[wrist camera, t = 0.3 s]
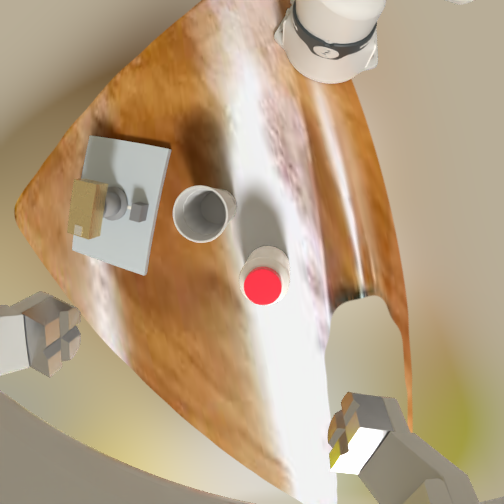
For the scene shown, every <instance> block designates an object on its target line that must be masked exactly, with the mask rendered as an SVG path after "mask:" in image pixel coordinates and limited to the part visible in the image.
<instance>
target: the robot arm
mask: <svg viewBox="0 0 504 504" xmlns="http://www.w3.org/2000/svg"><path fill="white" fill-rule="evenodd" d="M446 1H449V2H452V3H455V4H465V3H469V2H471V1H474V0H446ZM290 3H291V4H292V5H291V7H290V8H288V9H287V11H286V15H285V17H284V19H283V20H282V22H281V24H280V25H279V27H278V29H277V30H276V32H275V34H274V40H275V41H276V43H277V44H279V45H280V46H281V47H282V48H283V49H284V50H285V52H286V54H287V56H288V59H289V61H290V62H291V64H292V65H293V66H294V68H295V69H296V70H297V71H299V72H300V73H301V74H302V75H304V76H306V77H307V78H309V79H312V80H314V81H317V82H321V83H329V84H334V83H341V82H345V81H347V80H350V79H352V78H353V77H355V76H356V75H357V74H359V73H360V72H362V71H364V70H369V69H373V68H375V67H376V66H377V64H378V50H377V33H376V26H377V20H378V18H379V16H380V14H381V13H382V11H383V9H384V7H385V4H386V0H291V1H290ZM282 31H283V33H282ZM372 56H373V58H372ZM80 321H81V320H80V311H79V309H78V308H76V307H74V306H72V305H70V304H68V303H66V302H64V301H62V300H60V299H58V298H56V297H54V296H52V295H50V294H47V293H46V292H42V291H39V292H37V293H35V294H33V295H31V296H29V297H27V298H25V299H23V300H22V301H20V302H18V303H16V304H14V305H12V306H10V307H9V306H8V305H0V375H4V374H8V373H11V372H15V371H18V370H22V369H26V368H29V366H30V367H32V368H34V369H35V370H37V371H39V372H41V373H42V374H44V375H46V376H48V377H51V376H52V375H53V374H55V373H56V372H57V371H58V370H59V369H60V368H62V361H67V360H71V359H72V358H73V357H74V356H75V354H76V353H77V351H78V349H79V346H80V341H81V336H80V335H81V334H80V332H79V330H78V328H77V325H78V324H79V323H80ZM341 406H342V410H340V411H339V412H337V413H335V415H334V417H333V418H332V420H331V423H330V426H329V430H328V443H329V444H330V446H331V447H332V448H333V449H332V450H331V452H330V453H329V458H330V468H331V471H337V472H345V473H354V474H358V476H359V478H360V479H361V480H362V482H363V483H364V484H365V485H366V487H367V488H368V489H369V491H370V492H371V494H372V495H373V496H374V498H375V499H376V500H377V501H378V502H379V504H504V497H500V498H497V499H492V500H488V501H484V502H479V501H478V498H477V496H476V494H475V491H474V489H473V487H472V484H471V482H470V480H469V478H468V475H467V474H465V473H464V472H463V471H461V470H460V469H459V468H458V467H456V466H455V465H454V464H453V463H451V462H450V461H449V460H447V459H446V458H445V457H444V456H442V455H441V454H440V453H439V452H437V451H436V450H435V449H433V448H432V447H431V446H430V445H429V444H427V443H426V442H425V441H423V440H422V439H421V438H420V437H419V436H417V435H416V434H415V433H410V431H409V428H408V426H407V423H406V421H405V419H404V416H403V413H402V411H401V409H400V406H399V404H398V401H397V400H396V399H395V398H390V397H380V396H379V397H378V396H371V395H364V394H358V393H351V392H348V393H347V394H346V395H345V396H344V398H343V400H342V402H341ZM0 504H255V503H249V502H245V501H240V500H236V499H231V498H227V497H223V496H219V495H215V494H212V493H208V492H204V491H200V490H197V489H194V488H191V487H187V486H184V485H181V484H178V483H175V482H172V481H169V480H166V479H164V478H161V477H158V476H155V475H153V474H150V473H148V472H145V471H142V470H140V469H138V468H135V467H132V466H130V465H128V464H126V463H123V462H121V461H119V460H117V459H114V458H112V457H110V456H108V455H106V454H104V453H101V452H100V451H98V450H96V449H94V448H92V447H90V446H88V445H86V444H84V443H82V442H80V441H78V440H76V439H75V438H73V437H71V436H69V435H67V434H66V433H64V432H62V431H61V430H59V429H57V428H55V427H54V426H52V425H50V424H49V423H47V422H46V421H44V420H42V419H41V418H39V417H38V416H36V415H35V414H33V413H32V412H30V411H29V410H27V409H26V408H24V407H23V406H21V405H20V404H19V403H17V402H16V401H14V400H13V399H12V398H10V397H9V396H7V395H6V394H5V393H3V392H2V391H1V390H0Z"/></svg>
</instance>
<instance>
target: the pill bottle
mask: <svg viewBox="0 0 504 504" xmlns="http://www.w3.org/2000/svg"><path fill="white" fill-rule="evenodd" d="M289 283H290V263H289V260H288V258H287V256H286V255H285V253H284V252H283V251H281V250H280V249H278V248H276V247H273V246H262V247H259V248H257V249H255V250H254V251H253V252H252V253H251V254H250V255H249V257H248V259H247V261H246V263H245V264H244V266H243V268H242V270H241V272H240V276H239V286H240V289H241V291H242V293H243V295H244V296H245V297H246V298H247V299H248V300H250V301H251V302H253V303H255V304H258V305H271V304H274V303H276V302H278V301H280V300H281V299H282V298H283V297H284V296H285V295H286V293H287V291H288V288H289Z"/></svg>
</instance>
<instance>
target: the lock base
mask: <svg viewBox="0 0 504 504" xmlns="http://www.w3.org/2000/svg"><path fill="white" fill-rule="evenodd" d="M170 153H171V149H167V148H162V147H157V146H151V145H146V144H141V143H135V142H129V141H123V140H117V139H111V138H105V137H98V136H91V135H90V137H89V142H88V146H87V151H86V156H85V161H84V166H83V171H82V177H81V179H90V180H95V181H99V182H103V183H107V184H108V188H107V194H106V200H105V201H106V205H107V209H106V213H105V215H104V216H103V219H102V226H101V234H100V236H98V237H95V238H92V239H89V240H88V239H85V238H82V237H79V236H76V235H74V236H73V247H72V250H73V251H76V252H79V253H81V254H84V255H87V256H89V257H92V258H95V259H98V260H101V261H103V262H106V263H109V264H112V265H115V266H118V267H120V268H123V269H126V270H129V271H132V272H135V273H138V274H141V275H146V274H147V269H148V263H149V256H150V250H151V245H152V239H153V233H154V228H155V223H156V217H157V212H158V207H159V202H160V198H161V193H162V188H163V184H164V179H165V175H166V170H167V166H168V162H169V158H170Z"/></svg>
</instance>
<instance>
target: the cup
mask: <svg viewBox="0 0 504 504" xmlns="http://www.w3.org/2000/svg"><path fill="white" fill-rule="evenodd" d="M236 209H237V205H236V201H235V198H234V197H233V195H232V194H231V193H229V192H228V191H226V190H224V189H216V188H212V187H208V186H203V185H197V186H192V187H189V188H187V189H186V190H184V191H183V192H182V193H181V194H180V195H179V196H178V198H177V199H176V201H175V204H174V207H173V220H174V223H175V226H176V228H177V230H178V231H179V232H180V233H181V234H182V235H183V236H184V237H185V238H187V239H188V240H190V241H193V242H198V243H204V242H209V241H212V240H214V239H215V238H217V237H218V236H219V235H220V234H221V233H222V232H223V231H224V229H225V227H226V226H227V224H228V223H229V222H230V221H231V220H232V219H233V217H234V216H235V213H236Z"/></svg>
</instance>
